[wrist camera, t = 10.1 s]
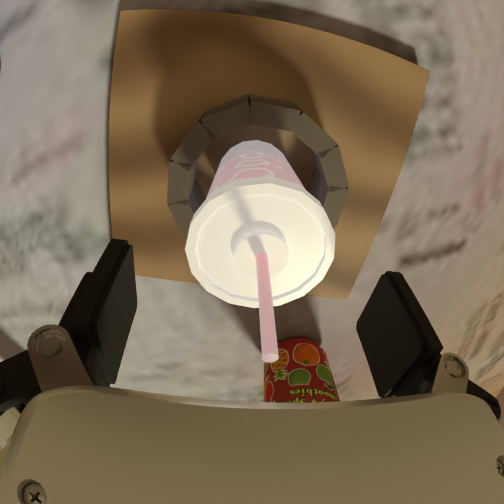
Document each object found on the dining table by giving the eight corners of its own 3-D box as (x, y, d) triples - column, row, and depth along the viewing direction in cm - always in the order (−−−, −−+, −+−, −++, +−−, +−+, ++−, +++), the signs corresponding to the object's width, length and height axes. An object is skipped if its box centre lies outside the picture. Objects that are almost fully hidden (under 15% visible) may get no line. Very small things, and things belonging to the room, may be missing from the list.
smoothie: (340, 328, 31) (383, 514, 15) (320, 371, 36) (345, 525, 20) (261, 326, 31) (273, 532, 14) (252, 371, 35) (258, 535, 19)
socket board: (342, 287, 28) (356, 328, 24) (121, 261, 26) (102, 300, 21) (419, 69, 17) (460, 77, 13) (128, 13, 14) (96, 3, 10)
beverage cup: (307, 133, 18) (409, 278, 7) (293, 217, 22) (339, 402, 10) (208, 125, 18) (147, 265, 6) (205, 212, 21) (172, 401, 10)
